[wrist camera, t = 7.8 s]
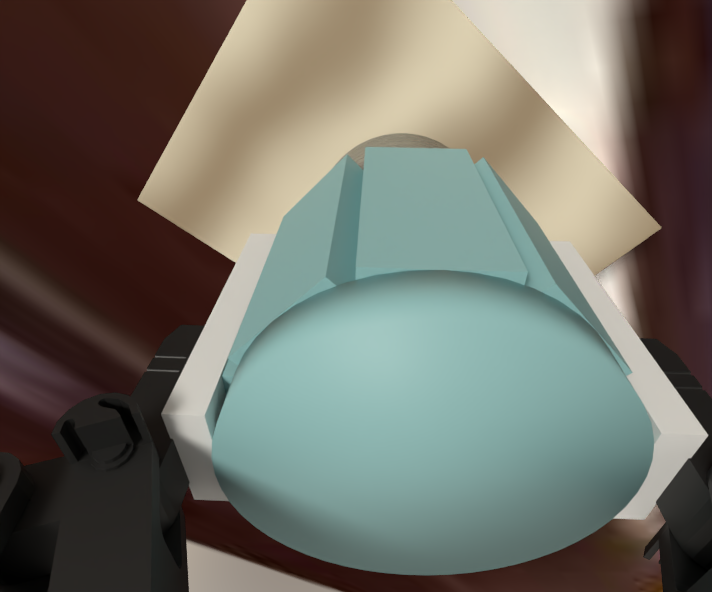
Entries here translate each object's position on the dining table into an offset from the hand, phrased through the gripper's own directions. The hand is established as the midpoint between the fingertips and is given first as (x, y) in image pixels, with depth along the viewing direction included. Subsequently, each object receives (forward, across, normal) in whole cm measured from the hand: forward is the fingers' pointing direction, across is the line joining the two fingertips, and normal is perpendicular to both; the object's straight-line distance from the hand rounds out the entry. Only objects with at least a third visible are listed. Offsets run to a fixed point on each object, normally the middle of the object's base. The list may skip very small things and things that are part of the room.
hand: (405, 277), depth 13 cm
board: (+6, 0, 0) cm, 6 cm away
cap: (0, 0, 0) cm, 0 cm away
